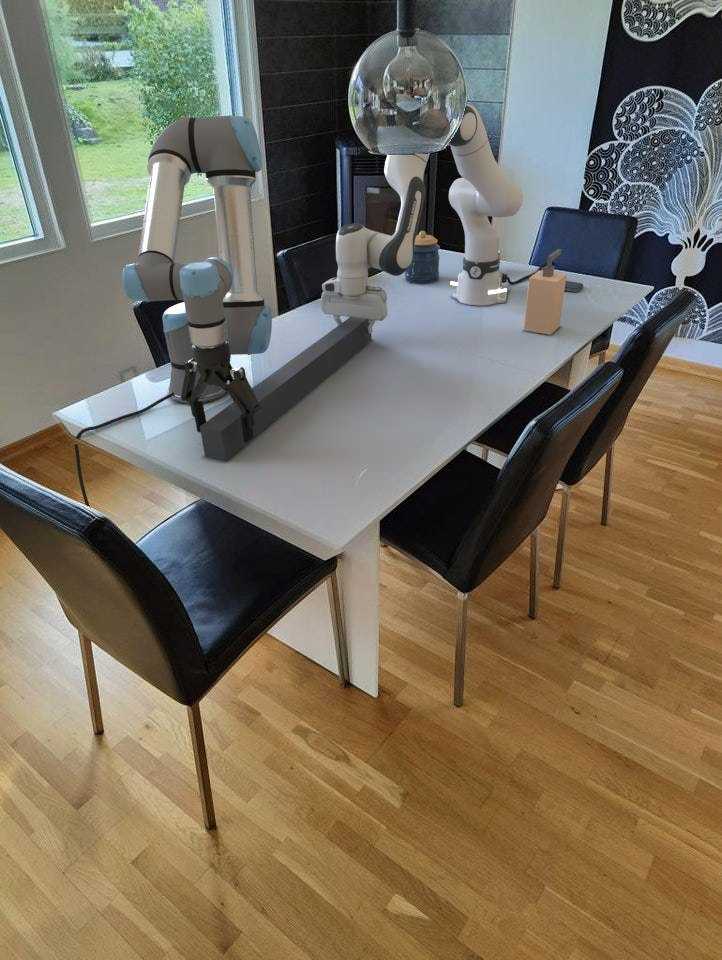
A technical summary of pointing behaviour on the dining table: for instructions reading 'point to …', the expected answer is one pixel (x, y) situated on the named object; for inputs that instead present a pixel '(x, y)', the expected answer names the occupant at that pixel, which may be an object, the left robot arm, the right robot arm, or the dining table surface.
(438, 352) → the dining table surface
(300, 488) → the dining table surface
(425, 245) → the canister
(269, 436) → the dining table surface
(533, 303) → the soap dispenser
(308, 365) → the beam
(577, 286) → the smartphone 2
